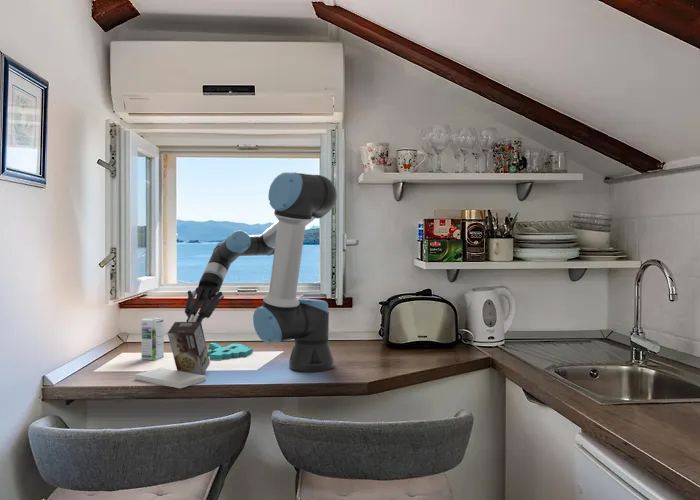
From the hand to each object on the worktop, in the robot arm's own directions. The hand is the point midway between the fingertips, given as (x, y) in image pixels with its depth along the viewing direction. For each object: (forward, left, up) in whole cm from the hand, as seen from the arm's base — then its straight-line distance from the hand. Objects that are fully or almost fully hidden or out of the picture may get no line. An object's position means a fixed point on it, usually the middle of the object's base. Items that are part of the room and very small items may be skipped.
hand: (188, 333), depth 175 cm
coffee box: (-1, -1, -12) cm, 12 cm away
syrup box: (+27, -8, -13) cm, 31 cm away
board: (-2, +9, -13) cm, 16 cm away
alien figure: (+10, -27, -14) cm, 32 cm away
